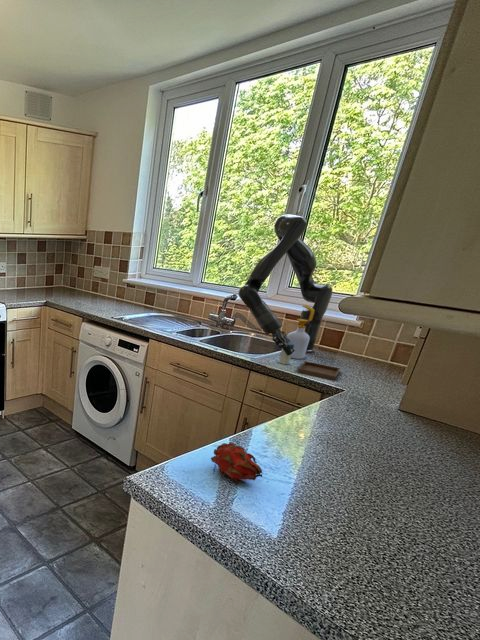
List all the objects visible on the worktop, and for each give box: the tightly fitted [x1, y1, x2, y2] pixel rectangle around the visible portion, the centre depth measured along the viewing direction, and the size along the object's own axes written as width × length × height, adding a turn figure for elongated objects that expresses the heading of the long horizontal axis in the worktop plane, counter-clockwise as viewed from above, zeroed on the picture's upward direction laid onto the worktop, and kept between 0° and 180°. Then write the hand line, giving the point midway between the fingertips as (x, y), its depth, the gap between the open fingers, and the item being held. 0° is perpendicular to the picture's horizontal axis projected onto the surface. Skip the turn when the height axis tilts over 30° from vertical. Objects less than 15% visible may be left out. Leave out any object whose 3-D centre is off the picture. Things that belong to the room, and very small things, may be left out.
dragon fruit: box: [210, 442, 263, 484], centre depth 96 cm, size 8×8×12 cm
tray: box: [297, 360, 341, 381], centre depth 175 cm, size 15×13×2 cm
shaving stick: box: [278, 343, 294, 365], centre depth 184 cm, size 4×4×9 cm
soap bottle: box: [287, 304, 315, 360], centre depth 192 cm, size 9×9×25 cm
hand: (291, 353), depth 183 cm, fingers closed on shaving stick, 4 cm apart
